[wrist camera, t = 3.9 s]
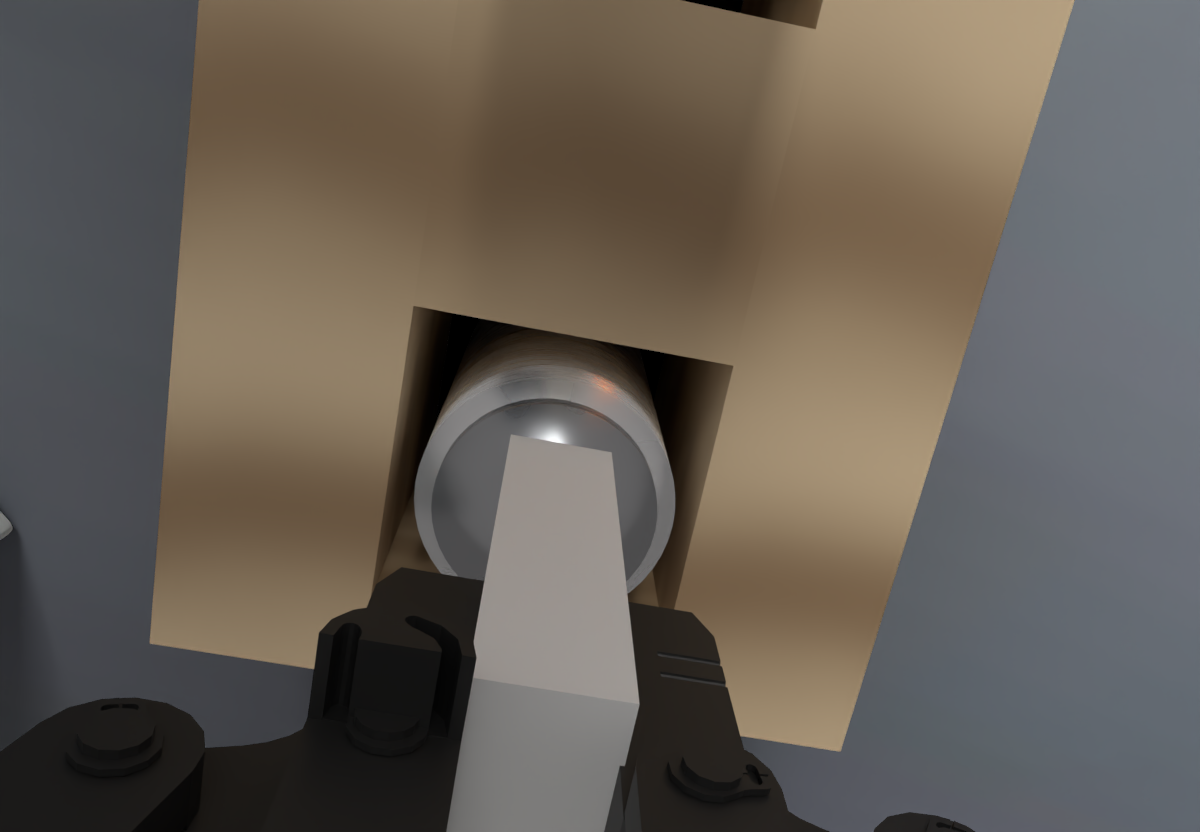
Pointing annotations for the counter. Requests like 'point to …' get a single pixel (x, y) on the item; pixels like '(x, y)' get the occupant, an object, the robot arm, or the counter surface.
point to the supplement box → (4, 526)
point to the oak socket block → (588, 291)
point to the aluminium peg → (547, 412)
